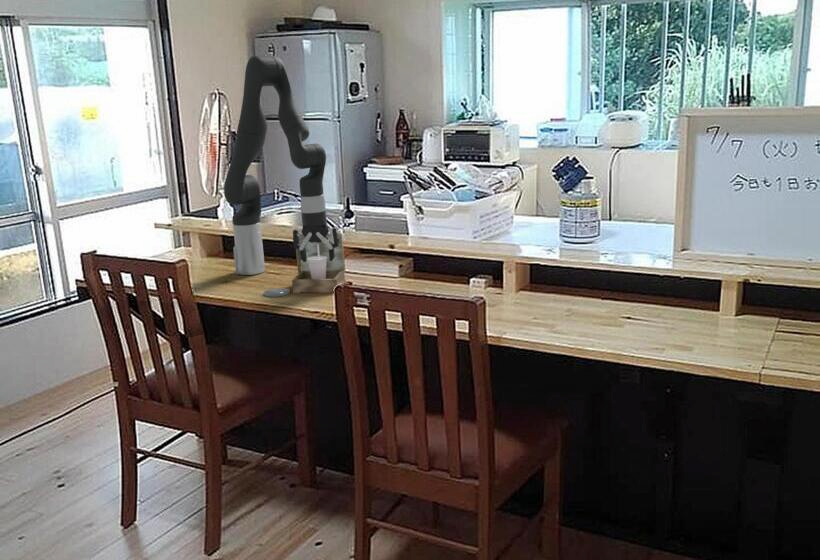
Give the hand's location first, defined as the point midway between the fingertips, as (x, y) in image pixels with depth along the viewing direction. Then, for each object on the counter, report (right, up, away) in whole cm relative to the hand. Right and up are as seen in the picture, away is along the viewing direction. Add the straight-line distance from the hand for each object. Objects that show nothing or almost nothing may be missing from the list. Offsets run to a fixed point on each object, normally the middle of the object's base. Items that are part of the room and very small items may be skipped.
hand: (318, 261), depth 253 cm
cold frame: (0, -8, +2) cm, 9 cm away
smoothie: (0, -8, +2) cm, 9 cm away
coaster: (-12, -10, -2) cm, 16 cm away
